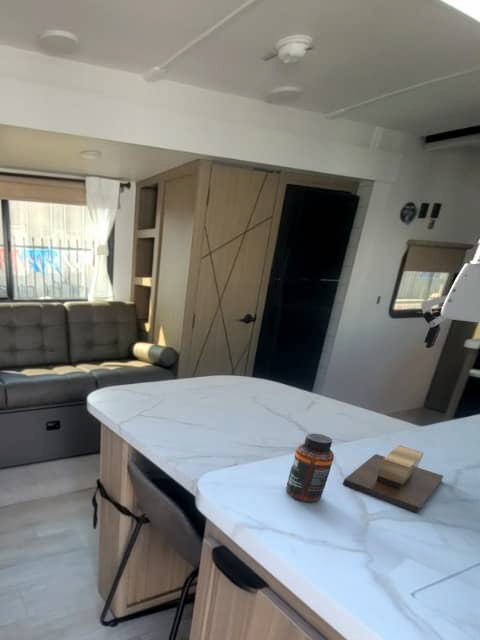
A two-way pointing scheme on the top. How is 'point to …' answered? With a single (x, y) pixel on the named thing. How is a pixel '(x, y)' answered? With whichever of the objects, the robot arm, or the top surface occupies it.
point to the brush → (399, 466)
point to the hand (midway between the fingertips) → (458, 351)
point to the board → (405, 496)
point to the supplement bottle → (310, 468)
